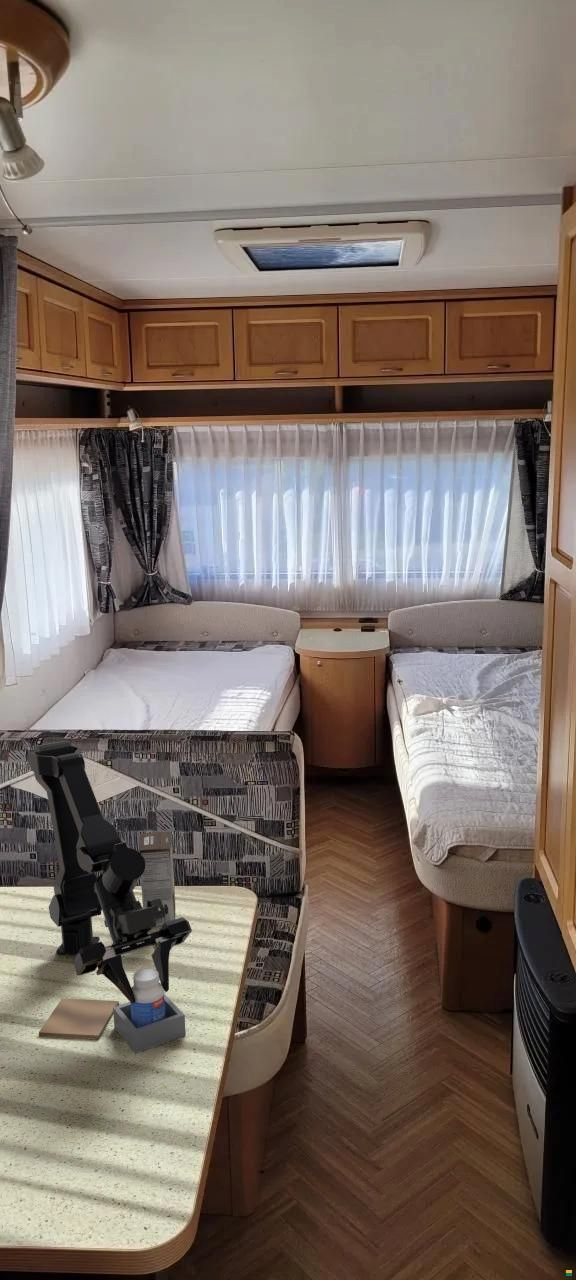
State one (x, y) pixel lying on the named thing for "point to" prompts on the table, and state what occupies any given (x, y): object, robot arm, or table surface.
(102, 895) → the robot arm
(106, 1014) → the walnut coaster
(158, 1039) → the holder box
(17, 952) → the table surface
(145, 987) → the pill bottle
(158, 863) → the coffee box
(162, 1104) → the table surface
